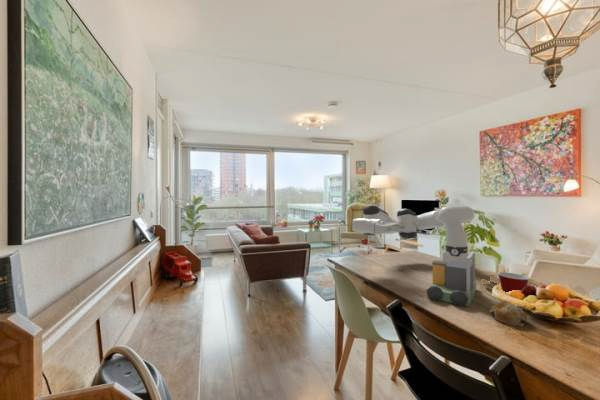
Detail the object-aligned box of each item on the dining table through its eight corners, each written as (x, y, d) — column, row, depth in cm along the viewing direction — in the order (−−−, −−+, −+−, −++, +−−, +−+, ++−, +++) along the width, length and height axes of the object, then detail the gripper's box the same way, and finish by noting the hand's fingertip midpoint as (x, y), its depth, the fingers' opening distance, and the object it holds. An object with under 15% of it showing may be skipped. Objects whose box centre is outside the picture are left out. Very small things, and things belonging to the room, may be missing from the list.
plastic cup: (533, 303, 112) (533, 275, 112) (524, 310, 106) (524, 280, 106) (503, 295, 121) (503, 269, 121) (492, 301, 115) (492, 273, 115)
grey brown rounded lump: (510, 337, 93) (522, 320, 90) (482, 314, 101) (492, 298, 98) (525, 330, 97) (536, 314, 94) (496, 308, 106) (506, 293, 102)
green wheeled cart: (440, 282, 140) (440, 245, 140) (476, 288, 130) (476, 249, 130) (425, 298, 118) (425, 255, 118) (468, 308, 108) (468, 260, 108)
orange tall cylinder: (435, 288, 131) (434, 260, 131) (446, 290, 128) (446, 261, 128) (432, 291, 127) (432, 262, 127) (444, 294, 124) (444, 263, 124)
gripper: (384, 230, 162) (408, 231, 153) (370, 234, 146) (395, 236, 137) (384, 219, 162) (408, 220, 153) (370, 222, 146) (395, 224, 137)
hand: (402, 228), depth 145 cm, fingers open, 8 cm apart
